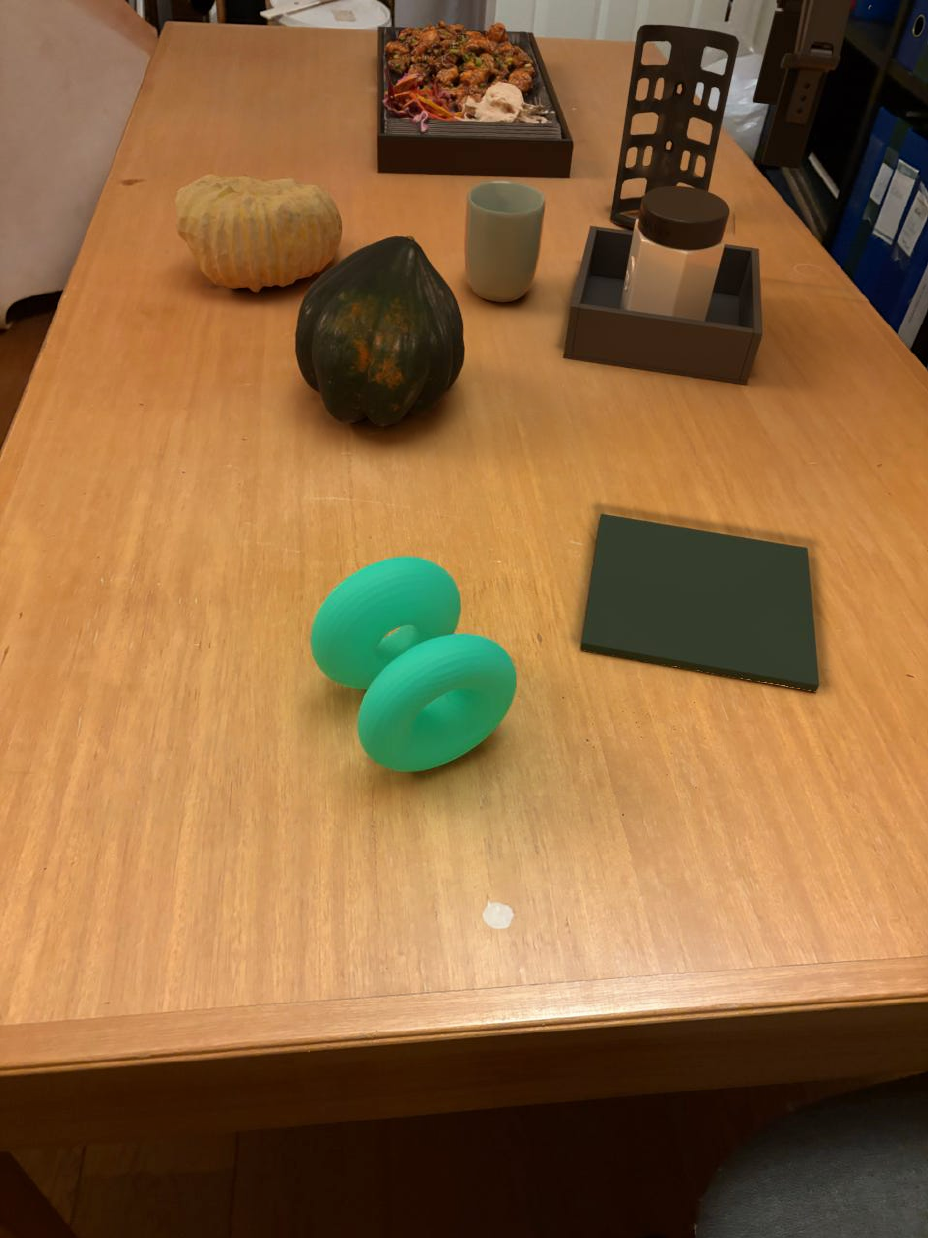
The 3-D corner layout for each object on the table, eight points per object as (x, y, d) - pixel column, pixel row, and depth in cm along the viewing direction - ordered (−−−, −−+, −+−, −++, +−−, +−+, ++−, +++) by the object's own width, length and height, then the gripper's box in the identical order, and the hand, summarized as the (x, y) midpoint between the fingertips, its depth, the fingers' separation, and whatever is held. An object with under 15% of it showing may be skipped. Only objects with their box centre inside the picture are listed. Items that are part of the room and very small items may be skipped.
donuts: (444, 636, 64) (450, 527, 57) (517, 742, 58) (534, 636, 51) (309, 685, 61) (296, 576, 53) (372, 804, 55) (368, 699, 48)
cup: (453, 304, 96) (458, 206, 88) (471, 270, 101) (476, 175, 94) (527, 316, 95) (538, 218, 87) (541, 281, 100) (552, 186, 93)
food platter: (569, 177, 119) (580, 89, 112) (377, 172, 118) (376, 82, 110) (530, 63, 150) (537, -12, 142) (377, 58, 148) (376, -19, 141)
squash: (241, 375, 75) (358, 252, 67) (291, 293, 86) (398, 178, 77) (371, 486, 81) (494, 386, 73) (403, 397, 92) (513, 301, 83)
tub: (745, 296, 100) (759, 248, 96) (746, 385, 88) (763, 333, 84) (582, 274, 102) (590, 225, 98) (563, 357, 90) (570, 305, 86)
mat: (804, 555, 72) (807, 547, 71) (815, 693, 62) (819, 685, 62) (599, 520, 74) (600, 513, 73) (579, 650, 64) (581, 642, 63)
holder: (609, 231, 109) (642, 31, 95) (604, 210, 114) (635, 19, 101) (703, 238, 109) (749, 40, 96) (693, 217, 114) (735, 28, 101)
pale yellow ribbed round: (357, 309, 99) (324, 218, 106) (359, 220, 90) (323, 127, 97) (195, 328, 95) (172, 232, 101) (181, 237, 85) (156, 138, 92)
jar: (615, 298, 97) (636, 180, 89) (692, 301, 98) (720, 185, 89) (624, 343, 91) (647, 221, 83) (706, 347, 92) (738, 226, 83)
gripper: (796, -251, 67) (722, 76, 82) (834, -213, 50) (731, 189, 65) (903, -242, 66) (808, 85, 82) (977, -201, 49) (839, 202, 65)
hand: (773, 132), depth 74 cm, fingers open, 13 cm apart
